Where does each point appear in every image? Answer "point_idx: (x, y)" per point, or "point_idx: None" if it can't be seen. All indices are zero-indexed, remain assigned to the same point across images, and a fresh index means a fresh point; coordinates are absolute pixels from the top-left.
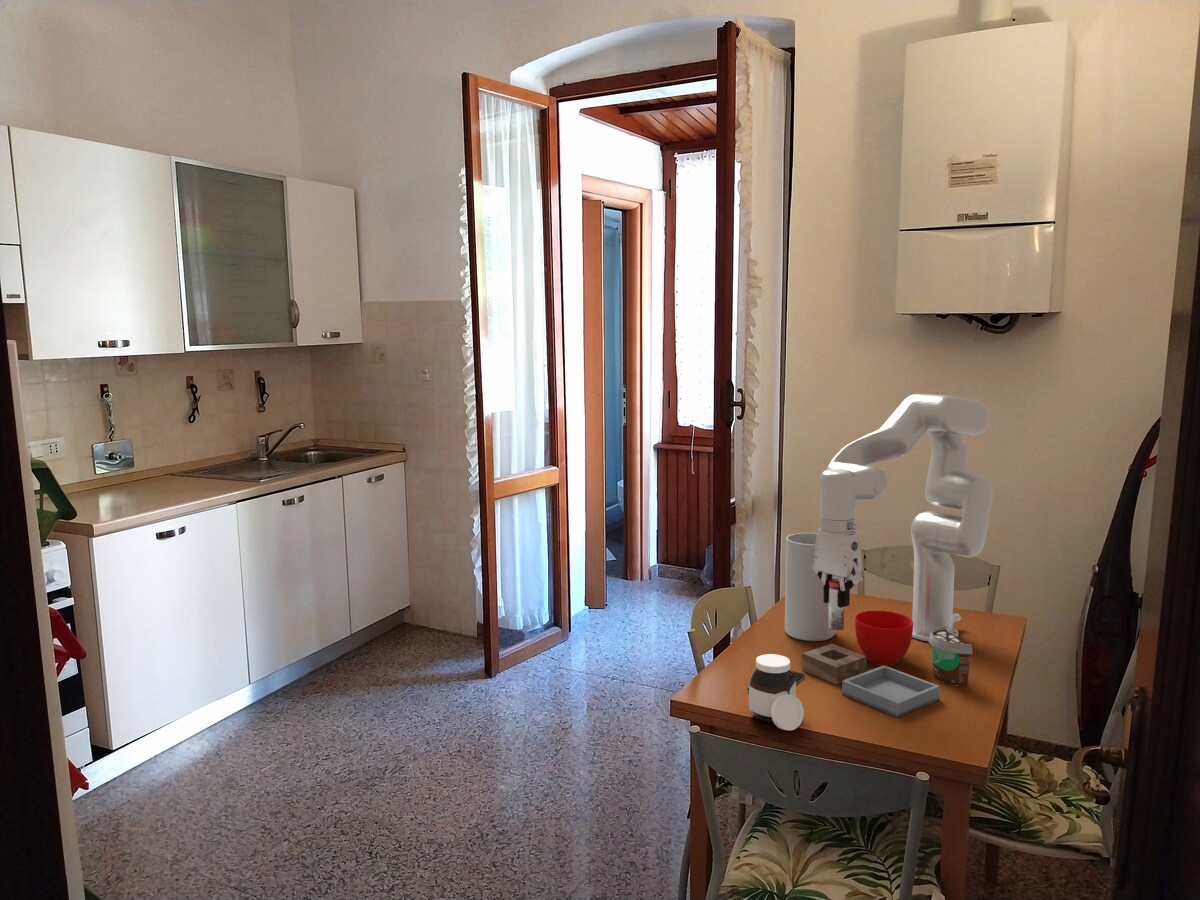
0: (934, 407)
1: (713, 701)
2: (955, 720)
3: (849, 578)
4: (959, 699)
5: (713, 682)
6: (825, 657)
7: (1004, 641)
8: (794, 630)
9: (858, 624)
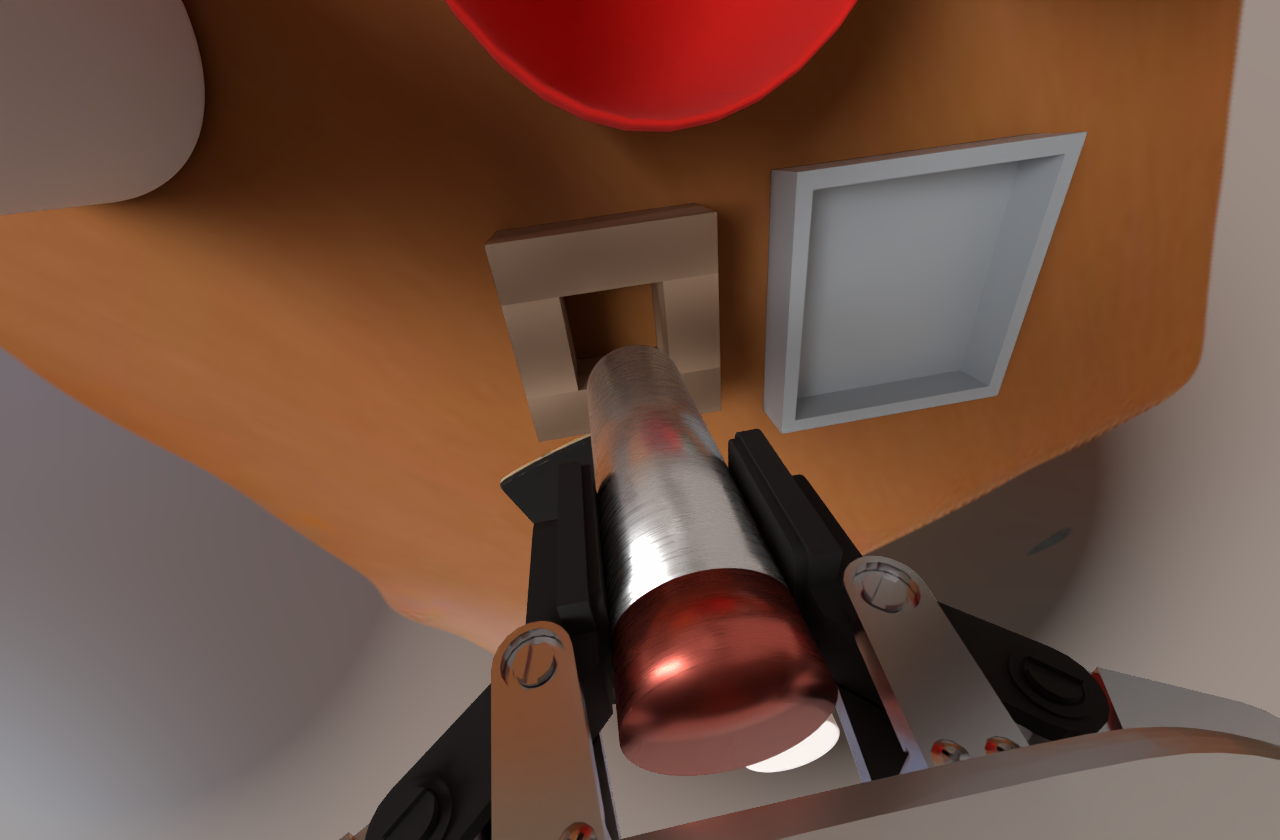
0: None
1: None
2: (1113, 232)
3: (979, 735)
4: (1100, 42)
5: None
6: None
7: None
8: (94, 203)
9: (588, 120)
